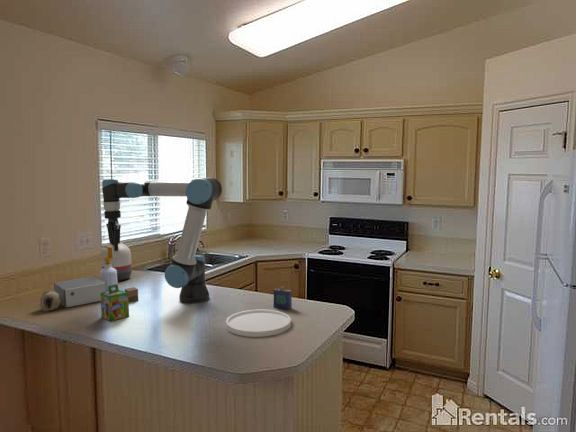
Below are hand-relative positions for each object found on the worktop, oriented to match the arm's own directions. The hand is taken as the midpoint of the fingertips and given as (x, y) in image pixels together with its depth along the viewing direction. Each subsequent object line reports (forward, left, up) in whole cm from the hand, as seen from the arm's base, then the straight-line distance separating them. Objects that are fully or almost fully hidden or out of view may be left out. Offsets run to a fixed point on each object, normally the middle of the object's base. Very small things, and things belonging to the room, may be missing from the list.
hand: (115, 257), depth 220 cm
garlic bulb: (+11, +28, -24) cm, 38 cm away
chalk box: (-22, +9, -24) cm, 33 cm away
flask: (-63, -55, -24) cm, 87 cm away
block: (-1, -7, -23) cm, 24 cm away
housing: (+19, +12, -23) cm, 32 cm away
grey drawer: (+17, +12, -23) cm, 31 cm away
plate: (-73, -34, -24) cm, 84 cm away
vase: (+49, -18, -24) cm, 57 cm away
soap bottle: (+29, -6, -24) cm, 38 cm away
